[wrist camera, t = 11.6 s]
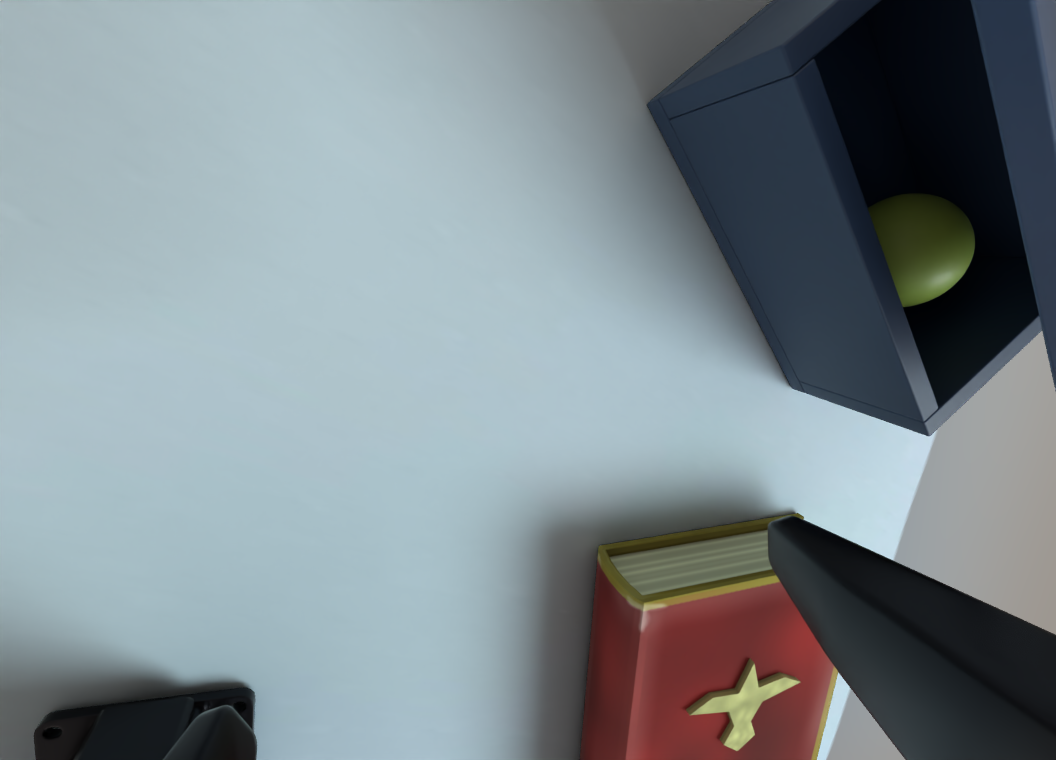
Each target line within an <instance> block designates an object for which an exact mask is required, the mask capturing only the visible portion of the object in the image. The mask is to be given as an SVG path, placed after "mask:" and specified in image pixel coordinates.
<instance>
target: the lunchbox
mask: <svg viewBox="0 0 1056 760" xmlns="http://www.w3.org/2000/svg"><path fill="white" fill-rule="evenodd" d="M647 106H648V108H649V110H650V112H651V114H652V116H653V118H654V120H655V122H656V123H657V125H658V127H659V129H660V131H661V133H662V135H663V137H664V139H665V141H666V143H667V145H668V147H669V149H670V151H671V153H672V155H673V157H674V159H675V161H676V163H677V165H678V167H679V168H680V170H681V172H682V174H683V176H684V178H685V180H686V182H687V184H688V186H689V188H690V190H691V192H692V194H693V196H694V198H695V200H696V202H697V204H698V206H699V208H700V210H701V212H702V213H703V215H704V217H705V219H706V221H707V223H708V225H709V227H710V229H711V231H712V233H713V235H714V237H715V239H716V241H717V243H718V245H719V247H720V249H721V251H722V253H723V255H724V256H725V258H726V260H727V262H728V264H729V266H730V268H731V270H732V272H733V274H734V276H735V278H736V280H737V282H738V284H739V286H740V288H741V290H742V292H743V294H744V296H745V298H746V300H747V301H748V303H749V305H750V307H751V309H752V311H753V313H754V315H755V317H756V319H757V321H758V323H759V325H760V327H761V329H762V331H763V333H764V335H765V337H766V339H767V341H768V343H769V345H770V346H771V348H772V350H773V352H774V354H775V356H776V358H777V360H778V362H779V364H780V366H781V368H782V370H783V372H784V374H785V376H786V378H787V380H788V382H789V384H790V386H791V388H792V389H795V390H798V391H801V392H803V393H807V394H810V395H812V396H815V397H818V398H821V399H824V400H827V401H829V402H832V403H835V404H838V405H841V406H844V407H847V408H849V409H852V410H855V411H858V412H861V413H864V414H866V415H869V416H872V417H875V418H878V419H881V420H884V421H886V422H889V423H892V424H895V425H898V426H901V427H903V428H906V429H909V430H912V431H915V432H918V433H921V434H923V435H926V436H931V435H932V434H933V433H934V432H935V431H936V430H937V429H938V428H939V427H940V426H941V425H942V424H943V423H944V422H945V421H946V420H948V419H949V418H950V417H951V416H952V415H953V414H954V413H955V412H956V411H957V410H958V409H959V408H960V407H961V406H962V405H963V404H965V403H966V402H967V401H968V400H969V399H970V398H971V397H972V396H973V395H974V394H975V393H976V392H977V391H978V390H979V389H980V388H982V386H984V385H985V384H986V383H987V382H988V381H989V380H990V379H991V378H992V377H993V376H994V375H995V374H996V373H997V372H998V371H999V370H1001V369H1002V368H1003V367H1004V366H1005V364H1007V363H1008V362H1009V361H1010V360H1011V359H1012V358H1013V357H1014V356H1015V355H1016V354H1018V353H1019V352H1020V351H1021V350H1022V349H1023V348H1024V347H1025V346H1026V345H1027V344H1028V343H1029V342H1030V341H1031V340H1032V339H1033V338H1034V337H1036V336H1037V335H1038V334H1039V333H1040V332H1041V331H1042V326H1041V322H1040V317H1039V312H1038V308H1037V303H1036V299H1035V294H1034V289H1033V285H1032V280H1031V276H1030V271H1029V266H1028V262H1027V257H1026V253H1025V248H1024V243H1023V239H1022V234H1021V230H1020V225H1019V220H1018V216H1017V211H1016V207H1015V202H1014V197H1013V193H1012V188H1011V184H1010V179H1009V174H1008V170H1007V165H1006V161H1005V156H1004V152H1003V147H1002V142H1001V138H1000V133H999V129H998V124H997V119H996V115H995V110H994V106H993V101H992V96H991V92H990V87H989V83H988V78H987V73H986V69H985V64H984V60H983V55H982V50H981V46H980V41H979V37H978V32H977V27H976V23H975V18H974V14H973V9H972V4H971V0H773V1H771V2H770V3H769V4H768V5H767V6H765V7H764V8H763V9H762V10H760V11H759V12H758V13H757V14H756V15H754V16H753V17H752V18H751V19H749V20H748V21H747V22H746V23H745V24H743V25H742V26H741V27H740V28H739V29H737V30H736V31H735V32H734V33H732V34H731V35H730V36H729V37H728V38H726V39H725V40H724V41H723V42H721V43H720V44H719V45H718V46H717V47H715V48H714V49H713V50H712V51H710V52H709V53H708V54H707V55H706V56H704V57H703V58H702V59H701V60H700V61H698V62H697V63H696V64H695V65H693V66H692V67H691V68H690V69H689V70H687V71H686V72H685V73H684V74H682V75H681V76H680V77H679V78H678V79H676V80H675V81H674V82H673V83H671V84H670V85H669V86H668V87H667V88H665V89H664V90H663V91H662V92H661V93H659V94H658V95H657V96H656V97H654V98H653V99H652V100H651V101H650V102H648V104H647ZM908 193H924V194H930V195H935V196H938V197H941V198H944V199H946V200H948V201H950V202H952V203H953V204H955V205H956V206H957V207H959V208H960V209H961V210H962V211H963V212H964V213H965V215H966V216H967V217H968V219H969V221H970V223H971V225H972V227H973V230H974V235H975V249H974V254H973V258H972V260H971V263H970V265H969V267H968V268H967V270H966V272H965V273H964V275H963V276H962V277H961V279H960V280H959V281H958V282H957V283H956V284H955V285H954V286H953V287H951V288H950V289H949V290H948V291H946V292H945V293H943V294H942V295H940V296H938V297H936V298H934V299H932V300H930V301H928V302H925V303H922V304H918V305H914V306H909V307H903V306H902V303H901V301H900V298H899V295H898V292H897V289H896V287H895V284H894V281H893V278H892V275H891V273H890V270H889V267H888V264H887V261H886V258H885V256H884V253H883V250H882V247H881V244H880V242H879V239H878V236H877V233H876V230H875V227H874V225H873V222H872V219H871V216H870V213H869V211H868V207H870V206H872V205H873V204H875V203H877V202H879V201H882V200H884V199H886V198H889V197H893V196H896V195H901V194H908Z"/></svg>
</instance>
